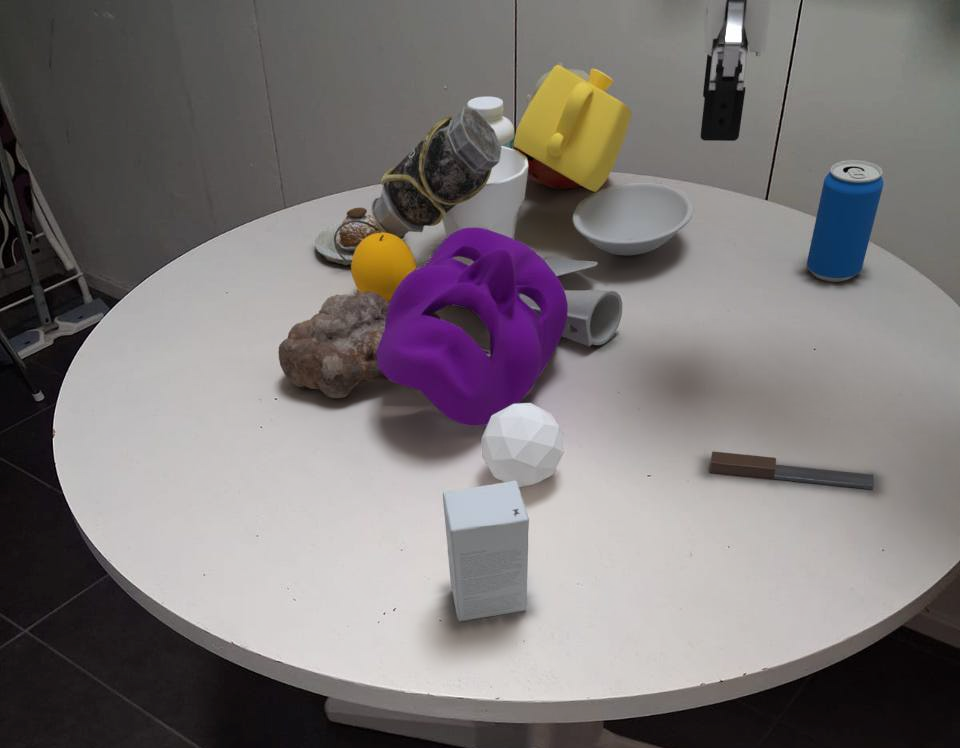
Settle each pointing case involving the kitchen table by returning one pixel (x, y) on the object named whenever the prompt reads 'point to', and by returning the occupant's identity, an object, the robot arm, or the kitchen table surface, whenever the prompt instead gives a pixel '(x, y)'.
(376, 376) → the rock
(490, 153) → the lantern
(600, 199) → the dish
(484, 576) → the cosmetic box
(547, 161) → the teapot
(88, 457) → the kitchen table surface
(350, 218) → the pastry
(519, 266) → the mask
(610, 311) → the grey hollow tube
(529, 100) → the toy
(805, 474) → the knife
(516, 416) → the geometric ball
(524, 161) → the cup
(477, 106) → the pill bottle
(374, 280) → the apple
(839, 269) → the beverage can
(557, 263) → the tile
